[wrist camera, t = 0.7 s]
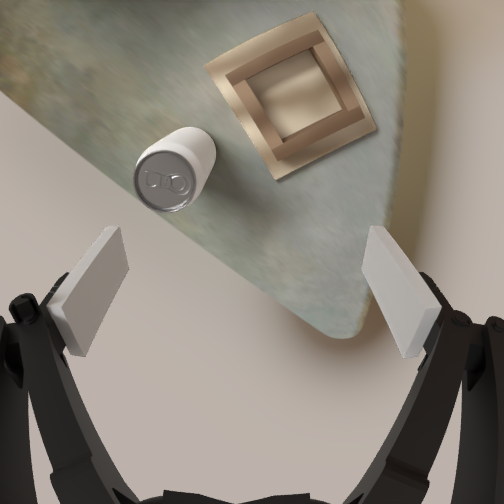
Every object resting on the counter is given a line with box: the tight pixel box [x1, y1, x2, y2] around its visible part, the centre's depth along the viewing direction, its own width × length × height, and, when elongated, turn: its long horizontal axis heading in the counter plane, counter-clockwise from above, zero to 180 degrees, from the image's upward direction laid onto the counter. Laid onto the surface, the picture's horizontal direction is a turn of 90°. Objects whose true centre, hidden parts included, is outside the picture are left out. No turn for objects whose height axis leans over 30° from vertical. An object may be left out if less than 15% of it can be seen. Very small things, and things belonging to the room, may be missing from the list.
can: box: [133, 127, 216, 213], centre depth 30 cm, size 6×6×12 cm
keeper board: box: [204, 11, 377, 180], centre depth 30 cm, size 16×14×3 cm
